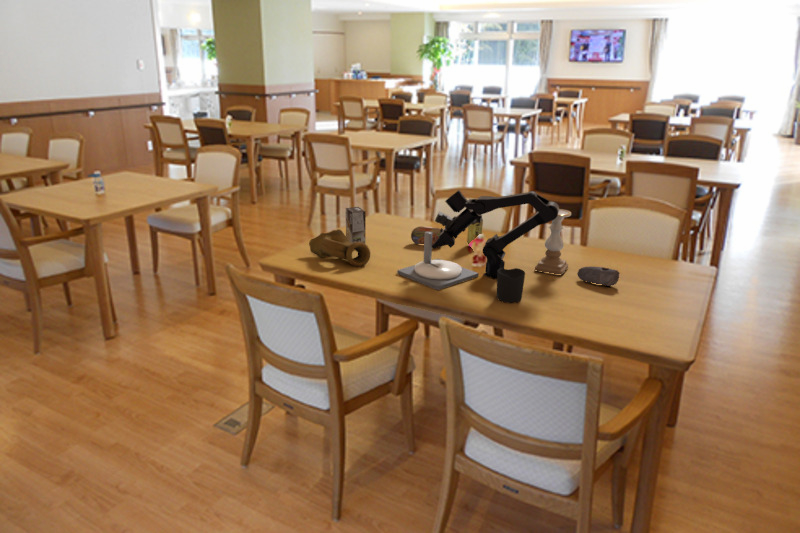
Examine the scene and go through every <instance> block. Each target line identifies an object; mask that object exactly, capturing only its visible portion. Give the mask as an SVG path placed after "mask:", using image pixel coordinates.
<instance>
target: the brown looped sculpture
mask: <svg viewBox="0 0 800 533" xmlns="http://www.w3.org/2000/svg"><path fill="white" fill-rule="evenodd" d="M308 245H309V249H310V252H311V253H312V254H314V255H316V256H317V257H318V258H320V259H321V258H322V259H325V258H327V257H335V258H337V259H339V260H345V261H347V262H348V263H349V264H350V265H351V266H353V267H358V268H359V267H363V266H365V265H366V264H367V263H368V262H369V261H370V259H371V250H370V248H369V246H368V245H367V243H363V242H354V243H351V242H350V241H349V240H348V239H347V237H346V234H345V233H344V232H343V230H342V229H340V228H339V229H333V230H331V231H328V232H321V233H320V234H319V235H317V236H316V237H314V238H311V239H310V240H309V242H308ZM354 250H355V252H357V256H356V257H353V252H354Z"/></svg>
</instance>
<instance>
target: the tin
mask: <svg viewBox="0 0 800 533" xmlns="http://www.w3.org/2000/svg"><path fill="white" fill-rule="evenodd" d="M440 230H441V227H440V228H439V227H431V226H422V225H421V226H417V227H415V228H414V229H412V231H411V233H410V238H411V242H413V243H414V244H415V245H417V244H424V238H425V232H432V245H433V244H434V242H435V241H436V240H437V238H438V237H439V235H440Z"/></svg>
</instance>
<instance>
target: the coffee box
mask: <svg viewBox="0 0 800 533" xmlns="http://www.w3.org/2000/svg"><path fill="white" fill-rule="evenodd" d="M366 234H367V233H366V210H365V209H363V208H361V207H359V206H351V207H345V236H346V237H347V239H348V240H349V241H350V242H351V243H354V242H363V243H365V244H367V243H366V237H367V236H366Z"/></svg>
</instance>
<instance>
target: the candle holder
mask: <svg viewBox="0 0 800 533" xmlns="http://www.w3.org/2000/svg"><path fill="white" fill-rule="evenodd" d="M571 216H572V212H571V211H570V210H568V209H563V208H559V213H558V216H557V217H556V219H554V220H552V221H551V224H550V225H549V227H548V229H550V230H549V231H550V234H549V236H548V237H547V238H546V240H545V242H544V247H545V248H546V250H545V253H544V254H545V256H543V257H542V258H541V259H540V260H539V261H538V263H536V265H535V267H534V271H535V270H537V271H542V272H549V273H554V274H561V275H562V274H563V273H564V272H565V270H566V269H567V268H568V269H569V264H568V263H567V260H565V259H562V258H561V257H562V256H561V255H562V252H561V251H562V250H563V249H564V247H565V246H564V245H565V244H564V241H563V239H562V237H561V231H562V230H563V229H564V227H563V226H562V222H563V221H564V219H565V218H568V217H571ZM568 269H567V270H568ZM565 273H566V272H565ZM565 273H564V274H565ZM564 274H563V275H564ZM563 275H562V276H563Z"/></svg>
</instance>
